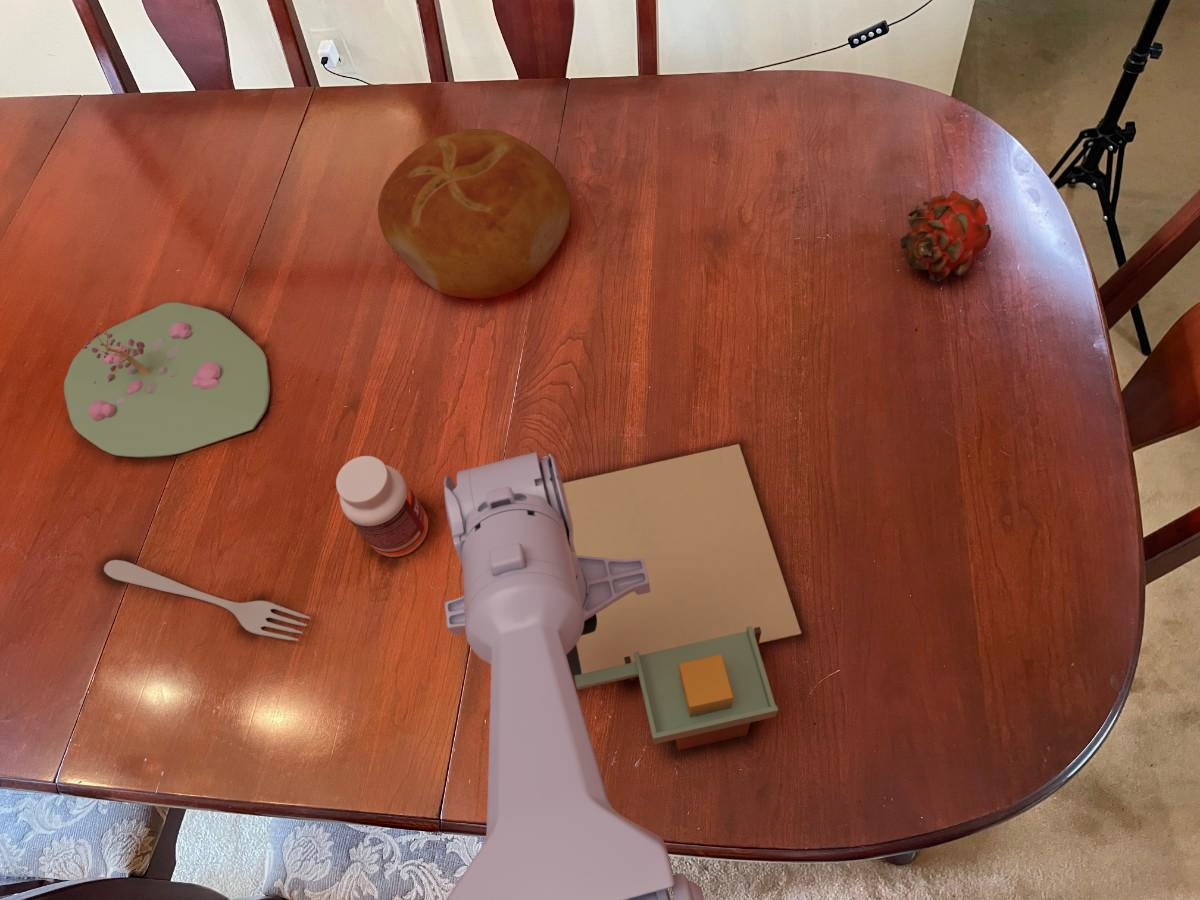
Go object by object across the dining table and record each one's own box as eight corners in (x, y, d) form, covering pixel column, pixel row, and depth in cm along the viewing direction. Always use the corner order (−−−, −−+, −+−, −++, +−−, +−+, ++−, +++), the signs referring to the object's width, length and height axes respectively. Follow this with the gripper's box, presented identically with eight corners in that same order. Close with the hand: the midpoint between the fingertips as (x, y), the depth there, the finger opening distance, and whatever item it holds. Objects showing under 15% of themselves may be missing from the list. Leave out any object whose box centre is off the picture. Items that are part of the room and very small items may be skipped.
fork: (114, 551, 86) (104, 544, 85) (319, 619, 80) (312, 612, 79) (96, 579, 85) (85, 573, 83) (303, 650, 79) (295, 645, 77)
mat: (801, 634, 75) (801, 633, 75) (581, 684, 75) (581, 683, 75) (738, 445, 85) (738, 443, 85) (544, 488, 85) (544, 487, 85)
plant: (308, 317, 99) (275, 265, 91) (242, 472, 90) (198, 428, 82) (120, 301, 104) (73, 250, 96) (37, 447, 94) (-23, 403, 86)
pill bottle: (442, 528, 84) (410, 477, 74) (393, 571, 82) (354, 524, 73) (404, 490, 86) (368, 435, 77) (356, 531, 85) (313, 480, 75)
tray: (775, 717, 66) (778, 710, 64) (582, 761, 66) (579, 755, 64) (742, 604, 71) (743, 594, 69) (562, 644, 71) (558, 636, 69)
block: (731, 708, 66) (733, 697, 64) (689, 717, 66) (689, 707, 64) (720, 665, 68) (721, 654, 65) (679, 675, 68) (678, 663, 65)
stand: (779, 727, 72) (785, 711, 66) (646, 757, 71) (642, 744, 66) (755, 647, 75) (759, 626, 70) (628, 676, 75) (623, 657, 70)
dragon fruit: (911, 308, 93) (936, 243, 100) (990, 291, 87) (1012, 224, 94) (880, 246, 89) (909, 183, 96) (961, 224, 83) (986, 158, 90)
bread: (365, 305, 99) (333, 246, 91) (417, 164, 110) (393, 99, 102) (554, 318, 96) (540, 257, 87) (588, 171, 107) (579, 104, 98)
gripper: (630, 492, 58) (641, 566, 70) (423, 539, 58) (469, 605, 70) (653, 587, 55) (660, 648, 66) (433, 637, 54) (479, 689, 66)
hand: (563, 632), depth 68 cm, fingers closed
